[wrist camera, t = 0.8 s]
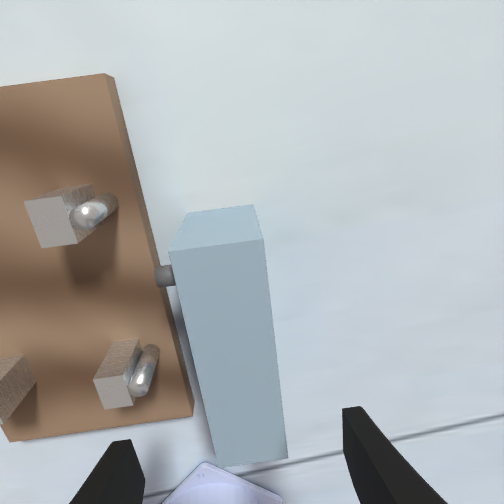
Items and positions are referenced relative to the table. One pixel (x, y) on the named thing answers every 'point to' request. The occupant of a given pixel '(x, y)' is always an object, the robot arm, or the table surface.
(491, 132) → the table surface
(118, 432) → the table surface
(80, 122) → the cabinet panel
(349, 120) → the table surface
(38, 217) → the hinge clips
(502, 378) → the table surface
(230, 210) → the pale blue square pillar
